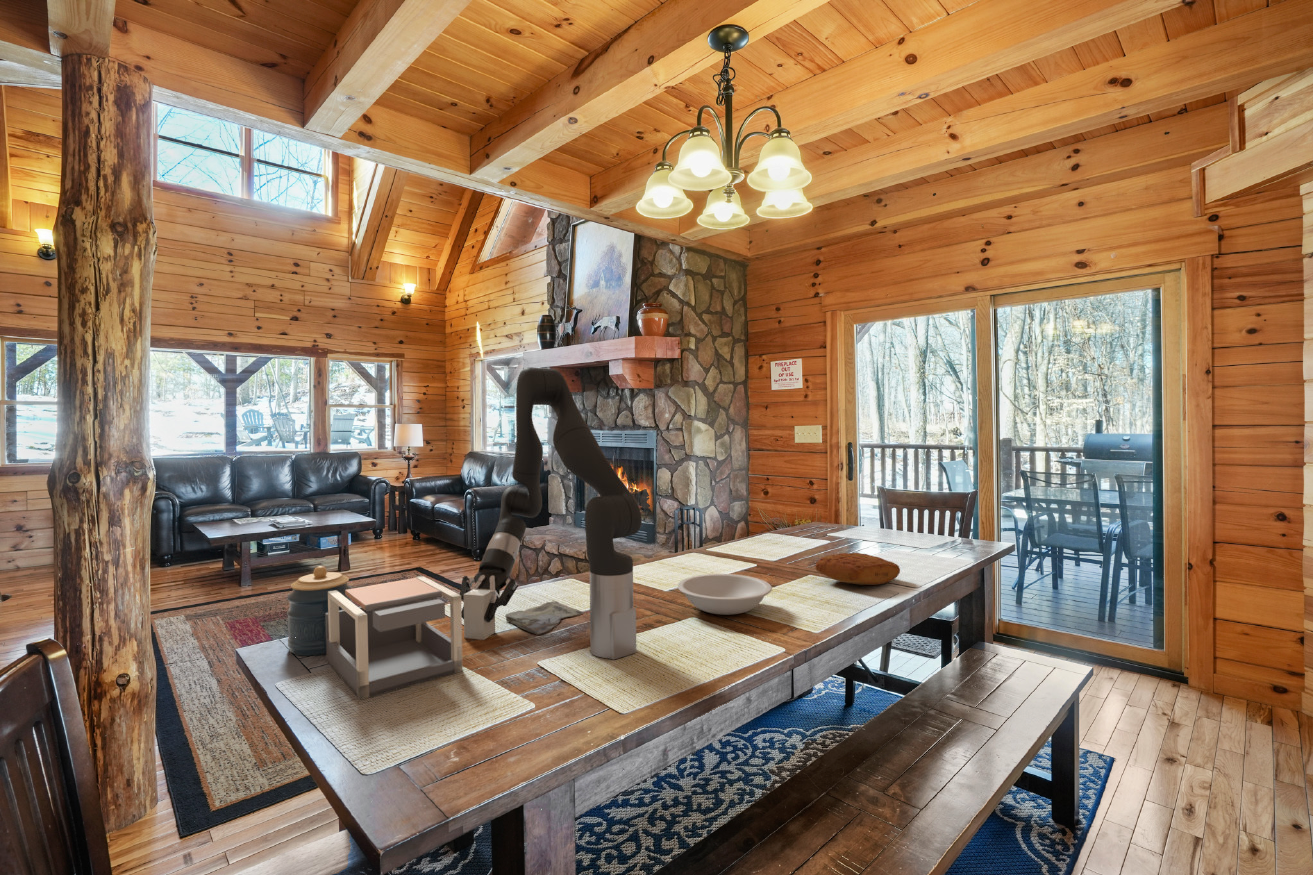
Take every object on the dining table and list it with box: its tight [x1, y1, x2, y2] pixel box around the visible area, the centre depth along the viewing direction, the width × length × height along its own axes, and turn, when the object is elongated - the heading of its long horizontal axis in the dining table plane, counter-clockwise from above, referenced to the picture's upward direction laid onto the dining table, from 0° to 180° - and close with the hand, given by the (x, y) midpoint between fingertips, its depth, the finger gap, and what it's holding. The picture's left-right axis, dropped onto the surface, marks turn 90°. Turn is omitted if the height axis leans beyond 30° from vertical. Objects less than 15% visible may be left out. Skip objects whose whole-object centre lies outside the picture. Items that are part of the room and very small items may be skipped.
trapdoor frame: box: [325, 575, 463, 701], centre depth 126 cm, size 24×19×15 cm
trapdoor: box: [345, 577, 446, 632], centre depth 123 cm, size 18×14×4 cm
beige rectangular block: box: [463, 589, 496, 641], centre depth 143 cm, size 5×5×10 cm
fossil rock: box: [505, 600, 584, 636], centre depth 154 cm, size 18×15×2 cm
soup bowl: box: [677, 573, 773, 616], centre depth 160 cm, size 24×24×7 cm
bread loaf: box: [814, 552, 901, 586], centre depth 186 cm, size 22×17×8 cm
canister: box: [286, 565, 355, 657], centre depth 137 cm, size 13×13×18 cm
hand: (475, 619), depth 142 cm, fingers closed on beige rectangular block, 5 cm apart
